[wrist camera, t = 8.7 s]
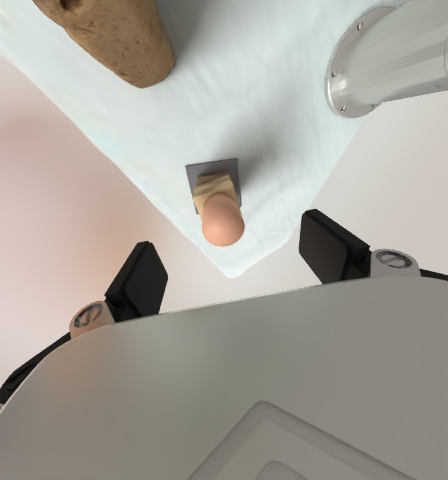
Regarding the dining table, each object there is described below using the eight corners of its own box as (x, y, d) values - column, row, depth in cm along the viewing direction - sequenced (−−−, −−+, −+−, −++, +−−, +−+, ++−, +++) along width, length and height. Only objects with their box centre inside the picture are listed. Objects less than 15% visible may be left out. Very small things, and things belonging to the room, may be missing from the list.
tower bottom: (227, 171, 34) (231, 177, 28) (230, 200, 37) (234, 210, 32) (197, 175, 33) (196, 183, 28) (203, 204, 37) (203, 215, 32)
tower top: (227, 175, 28) (233, 184, 23) (237, 207, 31) (243, 221, 26) (194, 187, 29) (192, 198, 24) (206, 217, 32) (207, 233, 27)
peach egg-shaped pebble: (234, 190, 24) (243, 205, 19) (237, 222, 26) (245, 242, 21) (199, 196, 24) (198, 212, 18) (206, 227, 26) (206, 249, 21)
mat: (236, 158, 33) (236, 158, 32) (240, 206, 38) (240, 207, 38) (185, 166, 33) (185, 166, 32) (196, 213, 38) (196, 214, 38)
